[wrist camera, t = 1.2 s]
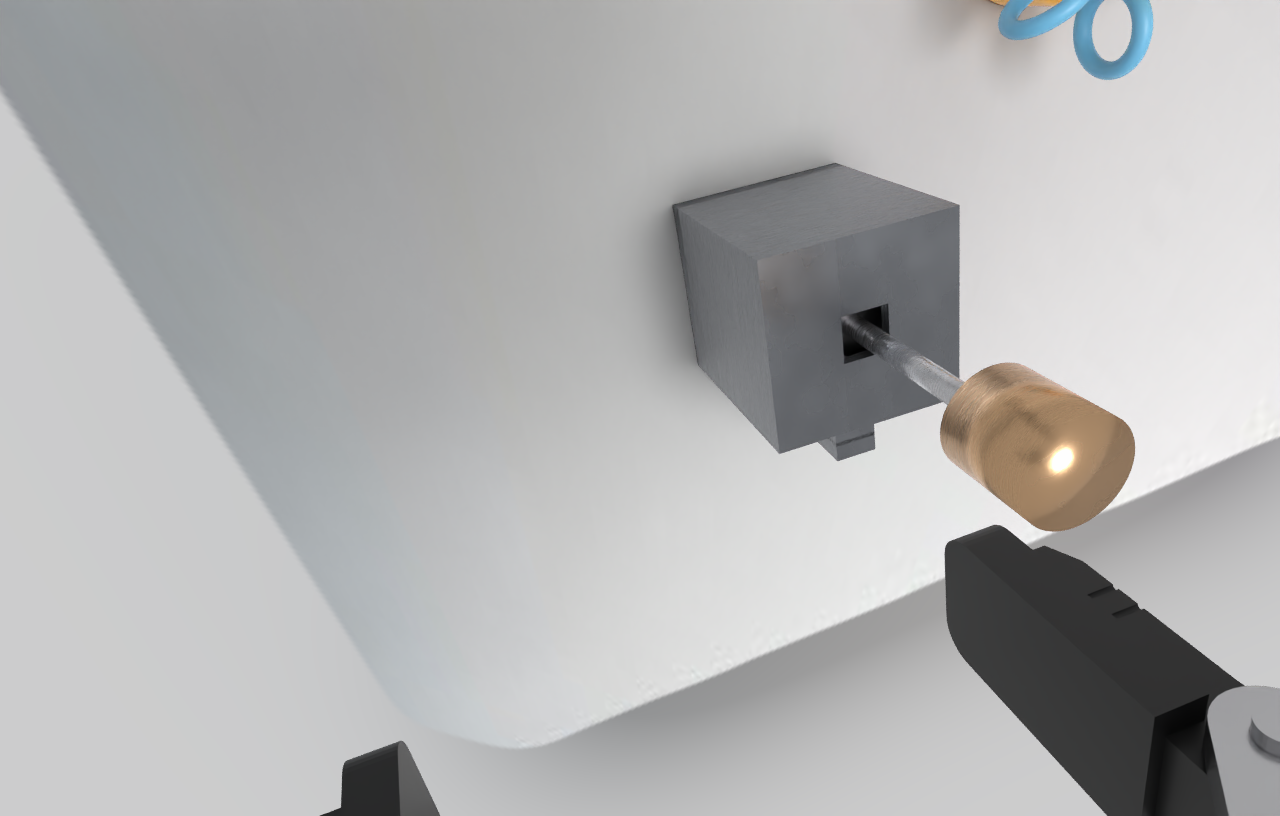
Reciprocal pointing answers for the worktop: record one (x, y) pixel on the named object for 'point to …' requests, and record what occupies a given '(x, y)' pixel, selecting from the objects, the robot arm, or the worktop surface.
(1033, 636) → the robot arm
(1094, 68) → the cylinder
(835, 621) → the worktop surface
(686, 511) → the worktop surface
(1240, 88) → the worktop surface
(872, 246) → the frame
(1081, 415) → the plunger
